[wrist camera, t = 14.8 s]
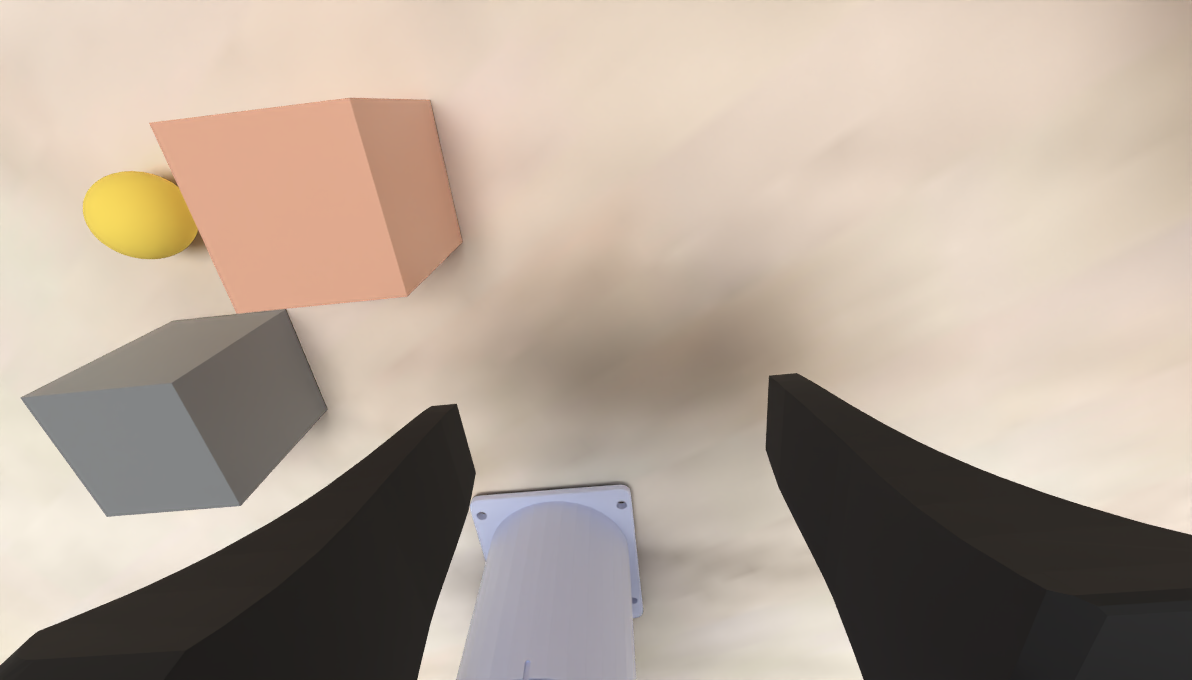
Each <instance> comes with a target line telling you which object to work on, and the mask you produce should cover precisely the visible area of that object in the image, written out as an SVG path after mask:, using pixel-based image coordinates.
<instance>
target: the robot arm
mask: <svg viewBox="0 0 1192 680" xmlns="http://www.w3.org/2000/svg"><path fill="white" fill-rule="evenodd" d="M766 452H767V455H768V458H769V461H770V464H771V467H772V470H773V473H774V475H775V478H776V481H777V484H778V487H779V489H780V491H781V493H782V495H783V497H784V499H785V501H786V503H787V505H788V507H789V509H790V511H791V513H792V515H793V517H794V519H795V521H796V523H797V525H798V527H799V529H800V531H801V533H802V535H803V537H804V539H805V541H806V543H807V545H808V547H809V549H810V551H811V553H812V555H813V557H814V559H815V561H816V563H817V565H818V567H819V569H820V571H821V573H822V575H823V577H824V579H825V581H826V584H827V586H828V588H829V590H830V592H831V595H832V597H833V599H834V602H835V604H836V607H837V610H838V612H839V615H840V617H841V620H842V623H843V625H844V628H845V630H846V633H847V636H848V638H849V641H850V643H851V646H852V649H853V652H854V654H855V657H856V660H857V663H858V665H859V668H860V671H861V674H862V676H863V679H864V680H1192V535H1189V534H1185V533H1181V532H1177V531H1173V530H1169V529H1165V528H1161V527H1157V526H1153V525H1149V524H1145V523H1141V522H1138V521H1134V520H1131V519H1127V518H1124V517H1121V516H1117V515H1114V514H1110V513H1107V512H1104V511H1100V510H1097V509H1093V508H1090V507H1087V506H1083V505H1080V504H1077V503H1074V502H1071V501H1068V500H1064V499H1061V498H1058V497H1055V496H1052V495H1049V494H1046V493H1043V492H1040V491H1037V490H1035V489H1032V488H1029V487H1026V486H1024V485H1021V484H1018V483H1015V482H1012V481H1010V480H1007V479H1004V478H1001V477H999V476H996V475H994V474H991V473H988V472H986V471H983V470H981V469H978V468H976V467H974V466H971V465H969V464H967V463H964V462H962V461H960V460H957V459H955V458H953V457H950V456H948V455H946V454H944V453H941V452H939V451H937V450H935V449H932V448H930V447H928V446H926V445H924V444H922V443H920V442H918V441H916V440H914V439H912V438H910V437H908V436H906V435H904V434H902V433H900V432H898V431H896V430H895V429H893V428H891V427H889V426H887V425H885V424H883V423H881V422H880V421H878V420H876V419H874V418H872V417H871V416H869V415H867V414H865V413H864V412H862V411H860V410H859V409H857V408H855V407H853V406H852V405H850V404H848V403H847V402H845V401H843V400H842V399H840V398H838V397H837V396H835V395H833V394H832V393H830V392H828V391H827V390H825V389H823V388H822V387H820V386H818V385H817V384H815V383H813V382H812V381H810V380H808V379H807V378H805V377H803V376H801V375H799V374H797V373H794V374H783V375H772V376H769V387H768V409H767V431H766ZM475 474H476V472H475V468H474V465H473V461H472V457H471V454H470V450H469V447H468V443H467V439H466V436H465V432H464V429H463V425H462V421H461V418H460V414H459V410H458V407H457V404H450V405H439V406H431V407H429V408H428V409H426V410H425V411H424V412H422V413H421V414H419V415H418V416H417V417H416V418H414V419H413V420H412V421H410V422H409V423H408V424H407V425H405V426H404V427H403V428H402V429H400V430H399V431H398V432H397V433H396V434H394V435H393V436H392V437H391V438H389V439H388V440H387V441H386V442H384V443H383V444H382V445H381V446H379V447H378V448H377V449H376V450H374V451H373V452H372V453H371V454H369V455H368V456H367V457H365V458H364V459H363V460H361V461H360V462H359V463H357V464H356V465H355V466H353V467H352V468H351V469H349V470H348V471H347V472H345V473H344V474H343V475H341V476H340V477H338V478H337V479H336V480H334V481H333V482H332V483H330V484H329V485H328V486H326V487H325V488H323V489H322V490H320V491H319V492H318V493H316V494H315V495H313V496H312V497H310V498H309V499H307V500H306V501H304V502H303V503H301V504H299V505H298V506H296V507H295V508H293V509H291V510H290V511H288V512H287V513H285V514H283V515H282V516H280V517H279V518H277V519H275V520H274V521H272V522H270V523H269V524H267V525H265V526H263V527H262V528H260V529H258V530H256V531H254V532H252V533H251V534H249V535H247V536H245V537H243V538H242V539H240V540H238V541H236V542H234V543H233V544H231V545H229V546H227V547H225V548H224V549H222V550H220V551H218V552H216V553H214V554H212V555H210V556H208V557H206V558H204V559H202V560H200V561H198V562H196V563H194V564H192V565H190V566H188V567H186V568H184V569H182V570H180V571H178V572H176V573H174V574H172V575H169V576H167V577H165V578H163V579H161V580H159V581H157V582H155V583H152V584H150V585H148V586H146V587H144V588H141V589H139V590H137V591H135V592H132V593H130V594H128V595H126V596H123V597H121V598H118V599H116V600H114V601H111V602H109V603H106V604H104V605H101V606H99V607H97V608H94V609H92V610H89V611H87V612H85V613H82V614H80V615H77V616H75V617H72V618H70V619H68V620H65V621H63V622H60V623H58V624H55V625H53V626H50V627H48V628H45V629H43V630H40V631H38V632H37V633H35V634H34V635H33V636H31V637H30V638H29V639H28V640H27V641H26V642H25V643H24V644H23V645H22V646H21V647H20V648H18V649H17V650H16V651H15V652H14V653H13V654H12V655H11V656H10V657H9V658H8V659H7V660H6V661H5V662H3V663H2V664H1V665H0V680H417V678H418V673H419V669H420V665H421V661H422V657H423V652H424V648H425V644H426V640H427V636H428V632H429V627H430V623H431V620H432V617H433V613H434V610H435V607H436V604H437V600H438V598H439V595H440V592H441V589H442V586H443V583H444V580H445V578H446V575H447V572H448V569H449V566H450V563H451V560H452V558H453V555H454V552H455V549H456V546H457V543H458V540H459V537H460V534H461V531H462V528H463V526H464V523H465V520H466V516H467V513H468V510H469V505H470V510H471V514H472V517H473V520H474V524H475V527H476V531H477V534H478V537H479V541H480V544H481V547H482V551H483V554H484V558H485V561H486V564H485V568H484V572H483V576H482V580H481V584H480V588H479V592H478V596H477V599H476V603H475V607H474V611H473V615H472V619H471V623H470V627H469V631H468V635H467V639H466V643H465V647H464V651H463V655H462V659H461V663H460V666H459V670H458V674H457V678H456V680H636V664H635V647H634V630H633V618H637V617H640V616H641V615H642V614H643V603H642V594H641V584H640V575H639V566H638V556H637V547H636V537H635V528H634V519H633V509H632V500H631V491H630V489H629V488H628V487H627V486H625V485H608V486H595V487H583V488H570V489H557V490H545V491H532V492H519V493H506V494H494V495H481V496H476V497H474V498H473V499H472V501H471V504H470V500H471V496H472V490H473V485H474V479H475ZM620 501H624V502H625V503H618V502H620ZM480 512H484V513H486V514H482V513H480Z"/></svg>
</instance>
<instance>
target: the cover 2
mask: <svg viewBox="0 0 1192 680" xmlns="http://www.w3.org/2000/svg"><path fill="white" fill-rule="evenodd" d="M21 399H22V401H23V402H24V403H25V405H26V406H27V408H28V409H29V410H30V412H31V413H32V414H33V416H34V417H35V419H36V420H37V421H38V423H39V424H40V425H41V427H42V428H43V430H44V431H45V432H46V434H47V435H48V436H49V438H50V439H51V441H52V442H53V443H54V445H55V446H56V447H57V449H58V450H59V452H60V453H61V454H62V456H63V457H64V458H65V460H66V461H67V463H68V464H69V465H70V467H71V468H72V469H73V471H74V472H75V473H76V475H77V476H78V478H79V479H80V480H81V482H82V483H83V484H84V486H85V487H86V489H87V490H88V491H89V493H90V494H91V495H92V497H93V498H94V500H95V501H96V502H97V504H98V505H99V506H100V508H101V509H102V511H103V512H104V513H105V515H106V516H107V517H109V516H121V515H134V514H146V513H159V512H171V511H183V510H196V509H208V508H220V507H233V506H241V505H242V504H243V503H244V502H245V500H246V499H247V498H248V497H249V496H250V495H251V494H252V493H253V492H254V490H255V489H256V488H257V487H258V486H259V485H260V484H261V483H262V482H263V480H264V479H265V478H266V477H267V476H268V475H269V474H270V473H271V472H272V470H273V469H274V468H275V467H276V466H277V465H278V464H279V463H280V462H281V460H282V459H283V458H284V457H285V456H286V455H287V454H288V453H289V452H290V450H291V449H292V448H293V447H294V446H295V445H296V444H297V443H298V442H299V440H300V439H301V438H302V437H303V436H304V435H305V434H306V433H307V432H308V430H309V429H310V428H311V427H312V426H313V425H314V424H315V423H316V422H317V420H318V419H319V418H320V417H321V416H322V415H323V414H324V413H325V412H326V410H327V408H326V405H325V403H324V401H323V398H322V396H321V393H320V391H319V389H318V386H317V384H316V381H315V379H314V377H313V374H312V372H311V369H310V367H309V365H308V362H307V360H306V357H305V355H304V353H303V350H302V348H301V345H300V343H299V341H298V338H297V336H296V333H295V331H294V329H293V326H292V324H291V321H290V319H289V316H288V314H287V312H286V309H283V310H273V311H264V312H254V313H245V314H235V315H226V316H216V317H207V318H197V319H188V320H178V321H171V322H169V323H167V324H165V325H163V326H162V327H160V328H158V329H156V330H154V331H152V332H150V333H148V334H146V335H144V336H142V337H140V338H138V339H136V340H134V341H132V342H130V343H128V344H126V345H124V346H122V347H120V348H118V349H116V350H114V351H112V352H110V353H108V354H106V355H104V356H102V357H100V358H98V359H96V360H94V361H92V362H90V363H88V364H86V365H84V366H82V367H80V368H78V369H76V370H74V371H72V372H70V373H68V374H66V375H64V376H62V377H60V378H58V379H56V380H55V381H53V382H51V383H49V384H47V385H45V386H43V387H41V388H39V389H37V390H35V391H33V392H31V393H29V394H27V395H25V396H23V397H21Z"/></svg>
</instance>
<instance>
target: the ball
mask: <svg viewBox="0 0 1192 680" xmlns="http://www.w3.org/2000/svg"><path fill="white" fill-rule="evenodd" d="M83 215H84V219H85V221H86V224H87V226H88V227H89V229H90V230H91V232H92V233H93V234H94V235H95V237H96V238H97V239H98V240H100V241H101V242H102V243H103V244H105V245H106V246H108V247H109V248H111V249H113V250H114V251H116V252H119V253H121V254H124V255H127V256H130V257H135V258H140V259H161V258H166V257H170V256H173V255H175V254H177V253H179V252H181V251H183V250H184V249H185V248H187V247H188V246H189V245H190V244H191V243H192V241H193V240H194V238H195V237H196V234H197V232H198V228H197V226H196V224H195V222H194V219H193V217H192V215H191V213H190V211H189V208H188V206H187V204H186V202H185V200H184V198H183V195H182V193H181V191H180V189H179V187H178V186H176V185H175V184H173V183H172V182H170V181H168V180H166V179H164V178H162V177H159V176H157V175H154V174H149V173H145V172H136V171H127V172H118V173H114V174H110V175H108V176H105V177H103V178H101V179H100V180H98V181H97V182H95V183H94V184H93V185H92V186H91V187H90V189H89V190H88V191H87V193H86V196H85V198H84V201H83Z"/></svg>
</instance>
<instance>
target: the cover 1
mask: <svg viewBox="0 0 1192 680" xmlns="http://www.w3.org/2000/svg"><path fill="white" fill-rule="evenodd" d="M149 124H150V126H151V128H152V130H153V132H154V134H155V137H156V139H157V141H158V143H159V145H160V147H161V150H162V152H163V154H164V156H165V158H166V161H167V163H168V165H169V167H170V169H171V171H172V174H173V176H174V178H175V180H176V182H177V185H178V187H179V189H180V191H181V193H182V195H183V198H184V200H185V202H186V204H187V206H188V208H189V211H190V213H191V215H192V217H193V219H194V222H195V224H196V226H197V228H198V230H199V232H200V235H201V237H202V239H203V241H204V243H205V246H206V248H207V250H208V252H209V254H210V256H211V259H212V261H213V263H214V265H215V267H216V269H217V272H218V274H219V276H220V278H221V280H222V283H223V285H224V287H225V289H226V291H227V293H228V296H229V298H230V300H231V302H232V304H233V307H234V309H235V311H236V313H237V314H238V313H248V312H258V311H267V310H277V309H287V308H297V307H307V306H317V305H327V304H337V303H347V302H357V301H367V300H377V299H387V298H397V297H407V296H408V295H409V294H410V293H411V292H412V291H413V290H414V289H415V288H416V287H417V286H418V285H419V284H420V283H421V282H422V281H423V280H424V279H426V278H427V277H428V276H429V275H430V274H431V273H432V272H433V271H434V270H435V269H436V268H437V267H438V266H439V265H440V264H441V263H442V262H443V261H444V260H445V259H446V258H447V257H448V256H449V255H450V254H451V253H452V252H453V251H454V250H455V249H456V248H457V247H458V246H459V245H460V244H461V243H462V238H461V233H460V229H459V225H458V220H457V216H456V212H455V207H454V203H453V199H452V194H451V190H450V185H449V181H448V177H447V172H446V168H445V164H444V159H443V155H442V151H441V146H440V142H439V137H438V133H437V129H436V124H435V120H434V116H433V111H432V107H431V102H430V100H413V99H372V98H345V99H337V100H329V101H321V102H313V103H305V104H297V105H289V106H281V107H273V108H265V109H257V110H249V111H241V112H233V113H225V114H217V115H209V116H201V117H193V118H185V119H177V120H169V121H161V122H153V123H149Z"/></svg>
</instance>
